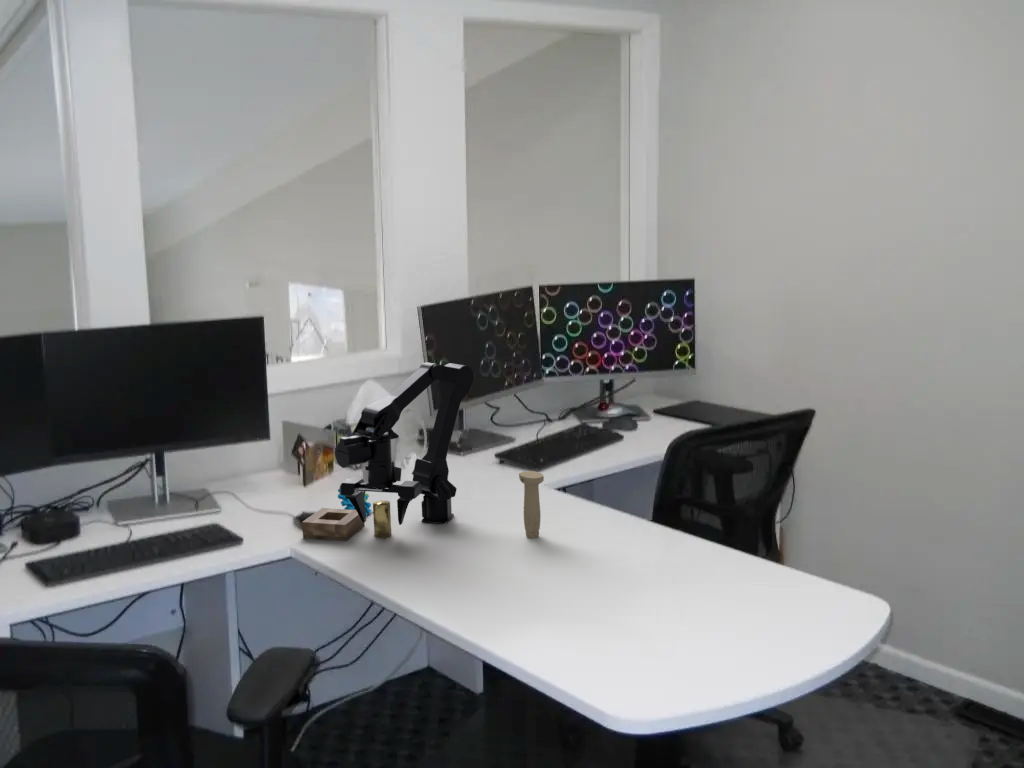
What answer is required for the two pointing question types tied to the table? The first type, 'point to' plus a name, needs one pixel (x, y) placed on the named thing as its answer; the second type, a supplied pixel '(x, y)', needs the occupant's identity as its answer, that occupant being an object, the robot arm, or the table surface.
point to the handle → (531, 502)
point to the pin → (382, 519)
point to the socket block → (332, 524)
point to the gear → (349, 505)
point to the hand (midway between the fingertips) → (382, 523)
